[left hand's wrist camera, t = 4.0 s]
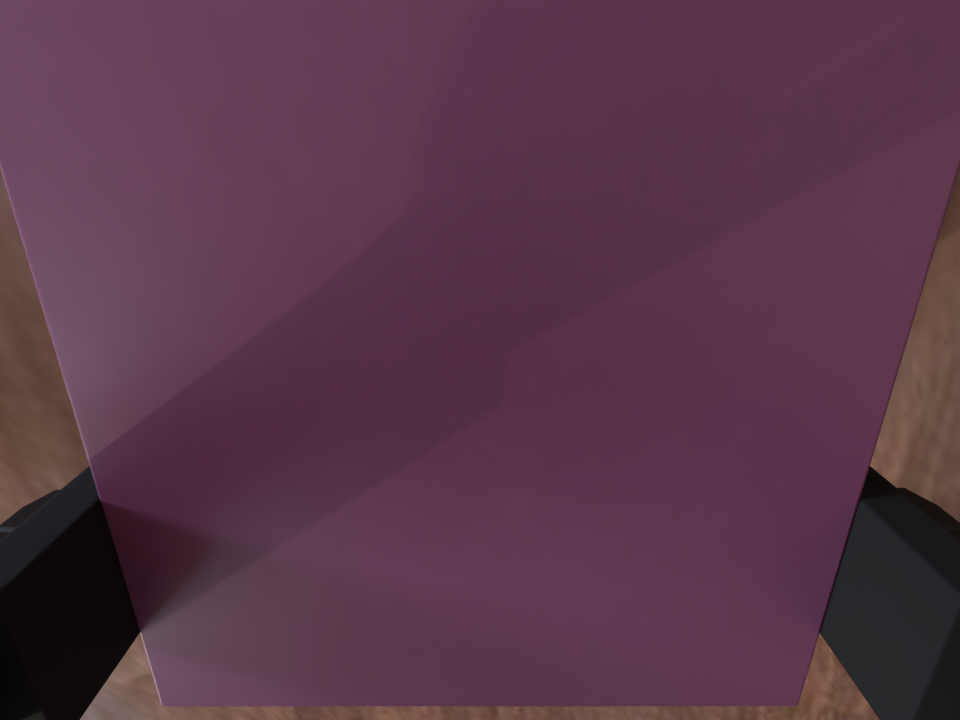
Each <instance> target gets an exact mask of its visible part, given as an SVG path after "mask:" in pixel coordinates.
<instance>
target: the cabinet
mask: <svg viewBox="0 0 960 720" xmlns="http://www.w3.org/2000/svg"><path fill="white" fill-rule="evenodd" d="M959 166H960V0H0V169H1V173H2V176H3V179H4V183H5V186H6V189H7V192H8V196H9V199H10V202H11V206H12V209H13V212H14V216H15V219H16V222H17V226H18V229H19V232H20V236H21V239H22V242H23V246H24V249H25V252H26V256H27V259H28V262H29V266H30V269H31V272H32V276H33V279H34V282H35V286H36V289H37V292H38V296H39V299H40V302H41V306H42V309H43V312H44V316H45V319H46V322H47V326H48V329H49V332H50V336H51V339H52V342H53V346H54V349H55V352H56V356H57V359H58V362H59V366H60V369H61V372H62V376H63V379H64V382H65V386H66V389H67V392H68V396H69V399H70V402H71V406H72V409H73V412H74V416H75V419H76V422H77V426H78V429H79V432H80V436H81V439H82V442H83V446H84V449H85V452H86V456H87V459H88V462H89V466H90V469H91V472H92V476H93V479H94V482H95V486H96V489H97V492H98V496H99V499H100V502H101V506H102V509H103V512H104V516H105V519H106V522H107V526H108V529H109V532H110V535H111V539H112V542H113V545H114V549H115V552H116V555H117V559H118V562H119V565H120V569H121V572H122V575H123V579H124V582H125V585H126V589H127V592H128V595H129V599H130V602H131V605H132V609H133V612H134V615H135V619H136V622H137V625H138V629H139V632H140V635H141V639H142V642H143V645H144V649H145V652H146V655H147V659H148V662H149V665H150V669H151V672H152V675H153V679H154V682H155V685H156V689H157V692H158V695H159V699H160V702H161V705H163V706H797V705H798V703H799V700H800V696H801V693H802V690H803V686H804V683H805V680H806V676H807V673H808V670H809V666H810V663H811V660H812V656H813V653H814V650H815V646H816V643H817V640H818V636H819V633H820V630H821V626H822V623H823V620H824V616H825V613H826V610H827V606H828V603H829V600H830V596H831V593H832V590H833V586H834V583H835V580H836V576H837V573H838V570H839V566H840V563H841V560H842V556H843V553H844V550H845V546H846V543H847V540H848V536H849V533H850V530H851V526H852V523H853V520H854V516H855V513H856V510H857V506H858V503H859V500H860V496H861V493H862V490H863V486H864V483H865V480H866V476H867V473H868V470H869V466H870V463H871V460H872V456H873V453H874V450H875V446H876V443H877V440H878V436H879V433H880V430H881V426H882V423H883V419H884V416H885V413H886V409H887V406H888V403H889V399H890V396H891V393H892V389H893V386H894V383H895V379H896V376H897V373H898V369H899V366H900V363H901V359H902V356H903V353H904V349H905V346H906V343H907V339H908V336H909V333H910V329H911V326H912V323H913V319H914V316H915V313H916V309H917V306H918V303H919V299H920V296H921V293H922V289H923V286H924V283H925V279H926V276H927V273H928V269H929V266H930V263H931V259H932V256H933V253H934V249H935V246H936V243H937V239H938V236H939V233H940V229H941V226H942V223H943V219H944V216H945V213H946V209H947V206H948V203H949V199H950V196H951V193H952V189H953V186H954V183H955V179H956V176H957V173H958V169H959Z"/></svg>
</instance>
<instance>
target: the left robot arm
mask: <svg viewBox="0 0 960 720" xmlns="http://www.w3.org/2000/svg"><path fill="white" fill-rule="evenodd" d="M139 633H140V632H139V629H138V625H137V622H136V619H135V615H134V612H133V609H132V605H131V602H130V599H129V595H128V592H127V589H126V585H125V582H124V579H123V575H122V572H121V569H120V565H119V562H118V559H117V555H116V552H115V549H114V545H113V542H112V539H111V535H110V532H109V529H108V526H107V522H106V519H105V516H104V512H103V509H102V506H101V502H100V499H99V496H98V492H97V489H96V486H95V482H94V479H93V476H92V472H91V469H90V466H89V467H88V468H86V469H85V470H84V471H83V472H82V473H80V474H79V475H78V476H77V477H76V478H74V479H73V480H72V481H71V482H70V483H68V484H67V485H66V486H65V487H64V488H62V489H61V490H55V491H53V492H51V493H49V494H47V495H45V496H43V497H41V498H39V499H38V500H36V501H34V502H32V503H30V504H28V505H26V506H24V507H22V508H21V509H20V510H19V511H17V512H16V513H15V514H14V515H12V516H11V517H10V518H9V519H7V520H6V521H5V522H4V523H2V524H1V525H0V720H80V718H81V717H82V715H83V714H84V712H85V711H86V710H87V708H88V707H89V705H90V704H91V702H92V701H93V699H94V698H95V697H96V695H97V694H98V692H99V691H100V689H101V688H102V686H103V685H104V684H105V682H106V681H107V679H108V678H109V676H110V675H111V673H112V672H113V671H114V669H115V668H116V666H117V665H118V663H119V662H120V660H121V659H122V657H123V656H124V655H125V653H126V652H127V650H128V649H129V647H130V646H131V644H132V643H133V642H134V640H135V639H136V637H137V636H138V634H139ZM820 634H821V635H822V637H823V638H824V640H825V641H826V642H827V644H828V645H829V647H830V648H831V650H832V651H833V653H834V654H835V655H836V657H837V658H838V660H839V661H840V663H841V664H842V666H843V667H844V668H845V670H846V671H847V673H848V674H849V676H850V677H851V679H852V680H853V682H854V683H855V684H856V686H857V687H858V689H859V690H860V692H861V693H862V695H863V696H864V697H865V699H866V700H867V702H868V703H869V705H870V706H871V708H872V709H873V710H874V712H875V713H876V715H877V716H878V718H879V719H880V720H960V523H959V522H958V521H957V520H955V519H954V518H953V517H952V516H950V515H949V514H948V513H947V512H945V511H944V510H943V509H942V508H940V507H939V506H938V505H936V504H934V503H932V502H930V501H928V500H926V499H924V498H923V497H921V496H919V495H917V494H915V493H913V492H911V491H909V490H907V489H905V488H896V487H894V486H893V485H892V484H891V483H890V482H888V481H887V480H886V479H885V478H884V477H882V476H881V475H880V474H879V473H878V472H876V471H875V470H874V469H873V468H872V467H870V466H869V470H868V473H867V476H866V480H865V483H864V486H863V490H862V493H861V496H860V500H859V503H858V506H857V510H856V513H855V516H854V520H853V523H852V526H851V530H850V533H849V536H848V540H847V543H846V546H845V550H844V553H843V556H842V560H841V563H840V566H839V570H838V573H837V576H836V580H835V583H834V586H833V590H832V593H831V596H830V600H829V603H828V606H827V610H826V613H825V616H824V620H823V623H822V626H821V630H820Z"/></svg>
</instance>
